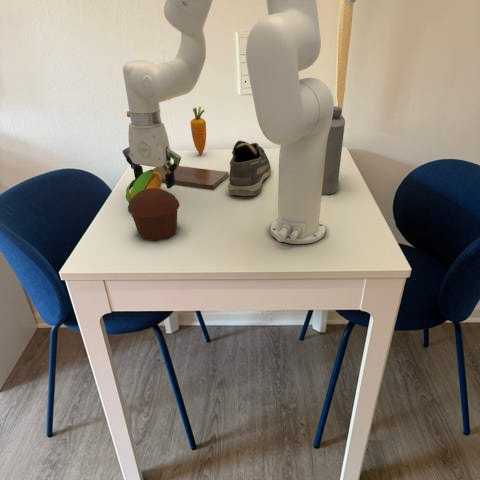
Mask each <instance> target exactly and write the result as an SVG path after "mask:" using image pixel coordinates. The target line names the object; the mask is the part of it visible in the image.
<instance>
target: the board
mask: <svg viewBox="0 0 480 480" xmlns="http://www.w3.org/2000/svg"><path fill="white" fill-rule="evenodd" d="M166 165H167V164H166ZM167 166H168V165H167ZM152 170H153V171H154V172H158V173H160V175H161V178H162V181H161V184H166V178H165V174H166V173H167V172H166V171H165V170H164V169H163V167H153V168H152ZM229 176H230V174H229V171H224V170H215V169H206V168H198V167H191V166H183V165H179V166H178V167H177V168H176V170H175V171H174V177H175V184H174V185H177V186H186V187H191V188H199V189H207V190H214V189H216V187H218V186H219V185H220V184H221V183H222V182H223V181H224V180H226V179H227V178H229Z"/></svg>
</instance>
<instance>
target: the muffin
mask: <svg viewBox="0 0 480 480" xmlns="http://www.w3.org/2000/svg"><path fill="white" fill-rule="evenodd" d="M180 206H181V204H180V201H179V200H178V198H177V197H176V196H175V194H173V193H171V192H169V191H168V190H165V189H162V188H160V189H159V188H149V189H145V190H142V191H140V192H138V193H137V194H136V195H135V196H134V197H133V198H132V199H131V200H130V203H129V202H128V206H127V211H128V212H129V213H130V215H131V217H132V219H133V222H134V225H135V227H136V230H137V233H138V235H139V236H140V237H141V238H142V239H143V240H146V241H153V242H158V241H162V240H163V241H164V240H168V239H170V238H171V237H173V236H175V235H176V232H177V230H178V209H179V208H180Z"/></svg>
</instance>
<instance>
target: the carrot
mask: <svg viewBox="0 0 480 480" xmlns="http://www.w3.org/2000/svg"><path fill="white" fill-rule="evenodd" d="M192 112H193V114H194V118H192V119H191V120H190V131H191V136H192V141H193V145H194V148H195V149H196V151H197V154H199V155H200V156H202V155H203V154H204V151H205V147H206V144H207V143H206V142H207V122H206V120H205V119H204V118H203V117H202V115H203V113H205V110H204V109H202V107H201V106H198V109H197V107H196V106H194V107H193V108H192Z"/></svg>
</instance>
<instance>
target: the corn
mask: <svg viewBox="0 0 480 480" xmlns="http://www.w3.org/2000/svg"><path fill="white" fill-rule="evenodd" d="M161 181H162V178H161V175H160V173H158V172H154V171H153V168H151V169H148V170H146V171H143V174H141V175H140V176H139V178H138V179H135V178H134V179H133V180H131V182H130V183H129V184H128V185H127V186H126V189H125V199H126V201H127V202H128V204H129V203H130V200H131V199H132V198H133V197H134V196H135V195H136V194H137V193H138V192H140V191H142V190H145V189H149V188H159V189H162V182H161Z"/></svg>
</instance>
